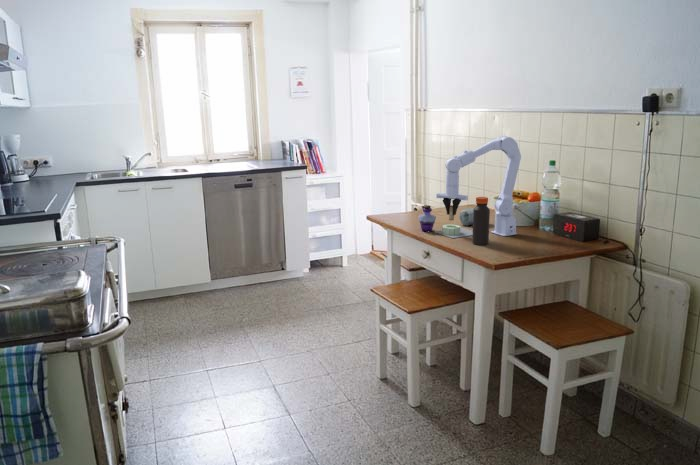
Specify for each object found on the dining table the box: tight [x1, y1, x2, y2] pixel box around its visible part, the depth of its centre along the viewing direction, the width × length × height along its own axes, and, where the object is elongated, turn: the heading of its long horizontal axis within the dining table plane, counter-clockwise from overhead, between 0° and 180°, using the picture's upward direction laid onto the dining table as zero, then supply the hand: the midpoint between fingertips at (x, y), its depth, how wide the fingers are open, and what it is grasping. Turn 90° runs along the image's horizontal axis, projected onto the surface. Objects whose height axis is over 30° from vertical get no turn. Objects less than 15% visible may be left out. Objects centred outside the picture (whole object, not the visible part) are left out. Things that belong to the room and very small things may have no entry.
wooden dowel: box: [448, 204, 455, 221], centre depth 263 cm, size 2×2×7 cm
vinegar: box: [471, 196, 491, 246], centre depth 245 cm, size 7×7×20 cm
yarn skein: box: [459, 207, 475, 226], centre depth 283 cm, size 14×10×10 cm
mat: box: [434, 227, 473, 239], centre depth 266 cm, size 14×16×1 cm
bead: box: [441, 224, 461, 235], centre depth 265 cm, size 8×8×3 cm
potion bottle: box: [418, 204, 437, 233], centre depth 271 cm, size 9×9×12 cm
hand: (451, 214), depth 263 cm, fingers closed on wooden dowel, 2 cm apart
